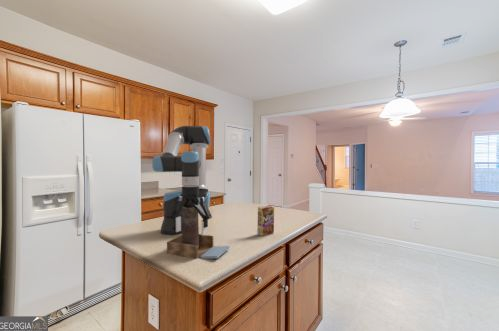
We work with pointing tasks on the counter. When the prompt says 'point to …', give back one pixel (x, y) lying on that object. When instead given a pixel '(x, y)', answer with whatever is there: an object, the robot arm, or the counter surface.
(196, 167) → the robot arm
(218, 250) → the panel
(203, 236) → the box
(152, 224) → the counter surface
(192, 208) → the candle
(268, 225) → the candy box
